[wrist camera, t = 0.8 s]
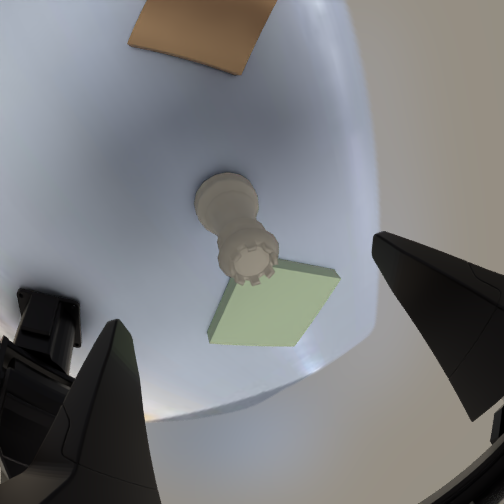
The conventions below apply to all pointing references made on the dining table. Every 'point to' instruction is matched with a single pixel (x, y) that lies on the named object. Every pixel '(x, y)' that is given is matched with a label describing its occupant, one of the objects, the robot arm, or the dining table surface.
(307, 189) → the dining table surface
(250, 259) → the rook chess piece
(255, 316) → the sage block
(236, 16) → the walnut block
